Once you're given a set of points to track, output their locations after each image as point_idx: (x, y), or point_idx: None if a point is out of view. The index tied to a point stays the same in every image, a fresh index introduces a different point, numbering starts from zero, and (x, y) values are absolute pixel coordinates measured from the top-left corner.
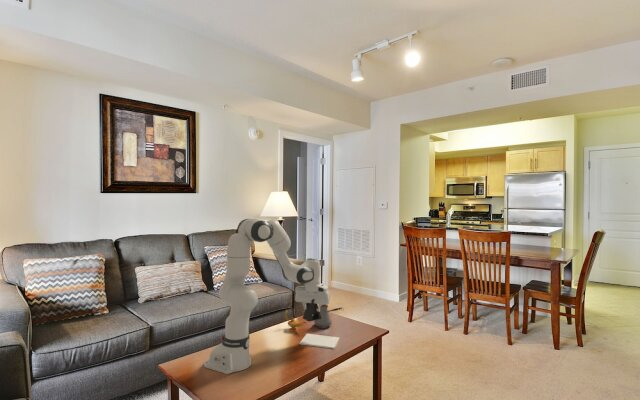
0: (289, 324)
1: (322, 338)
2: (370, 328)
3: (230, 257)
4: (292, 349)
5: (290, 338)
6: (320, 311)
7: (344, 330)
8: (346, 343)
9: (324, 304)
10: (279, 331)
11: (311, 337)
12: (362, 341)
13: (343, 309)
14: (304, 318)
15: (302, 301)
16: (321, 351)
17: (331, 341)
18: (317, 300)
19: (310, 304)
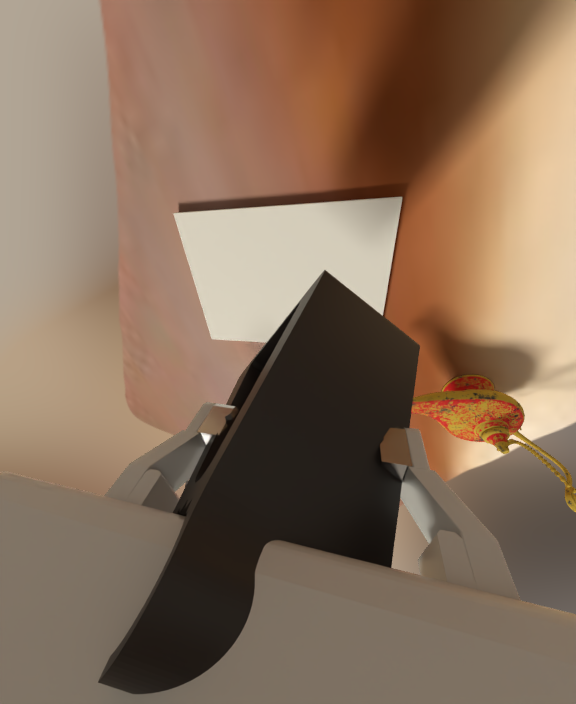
0: (512, 400)
1: (278, 310)
2: (171, 426)
3: None
4: (453, 51)
5: (482, 274)
6: None
7: None
8: (168, 298)
9: (34, 479)
10: (572, 357)
11: None
12: (131, 333)
13: (185, 485)
14: (394, 329)
15: (554, 648)
16: (223, 136)
17: (222, 286)
18: (75, 603)
19: (299, 509)
